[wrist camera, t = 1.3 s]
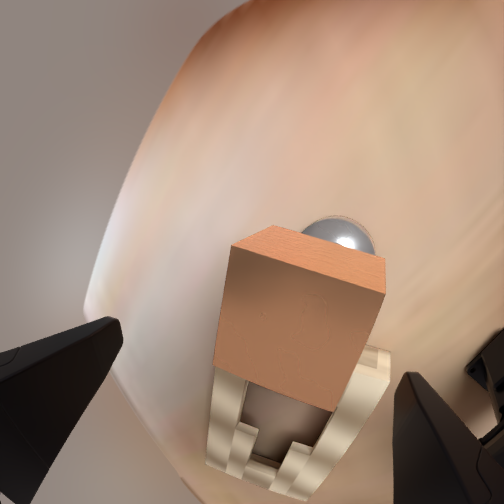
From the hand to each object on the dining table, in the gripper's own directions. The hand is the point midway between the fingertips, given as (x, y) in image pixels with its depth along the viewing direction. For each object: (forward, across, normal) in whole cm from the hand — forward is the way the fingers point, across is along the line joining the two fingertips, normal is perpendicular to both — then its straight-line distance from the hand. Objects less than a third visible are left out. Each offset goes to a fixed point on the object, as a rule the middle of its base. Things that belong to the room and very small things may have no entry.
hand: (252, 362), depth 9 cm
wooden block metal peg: (+12, -3, +1) cm, 13 cm away
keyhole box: (+12, -1, +17) cm, 21 cm away
